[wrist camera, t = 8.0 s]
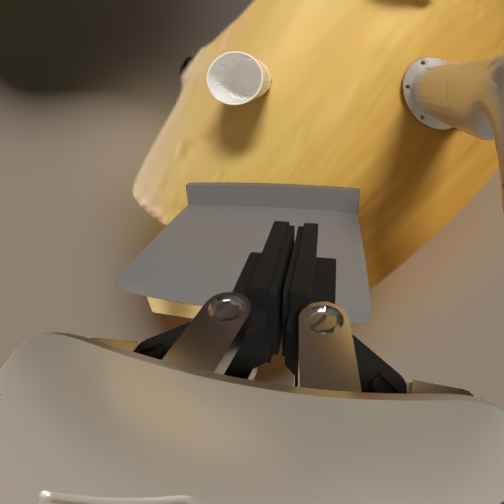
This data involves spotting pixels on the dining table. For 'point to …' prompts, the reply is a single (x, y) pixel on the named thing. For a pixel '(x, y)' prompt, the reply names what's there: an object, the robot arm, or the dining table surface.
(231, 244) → the board
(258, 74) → the white cup
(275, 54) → the dining table surface
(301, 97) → the dining table surface
